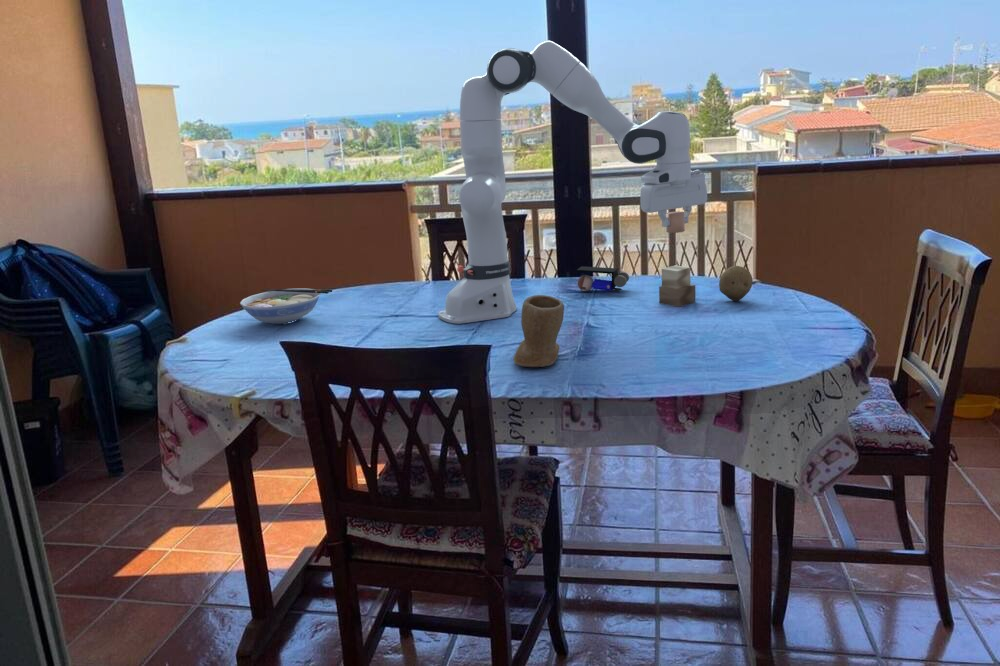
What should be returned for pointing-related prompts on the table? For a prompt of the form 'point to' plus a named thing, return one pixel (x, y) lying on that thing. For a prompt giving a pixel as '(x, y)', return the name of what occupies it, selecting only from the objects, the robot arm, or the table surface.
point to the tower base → (677, 295)
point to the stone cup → (540, 331)
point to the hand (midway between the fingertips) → (675, 225)
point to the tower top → (676, 277)
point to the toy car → (617, 280)
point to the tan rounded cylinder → (675, 222)
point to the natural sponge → (735, 282)
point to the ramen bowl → (282, 304)
